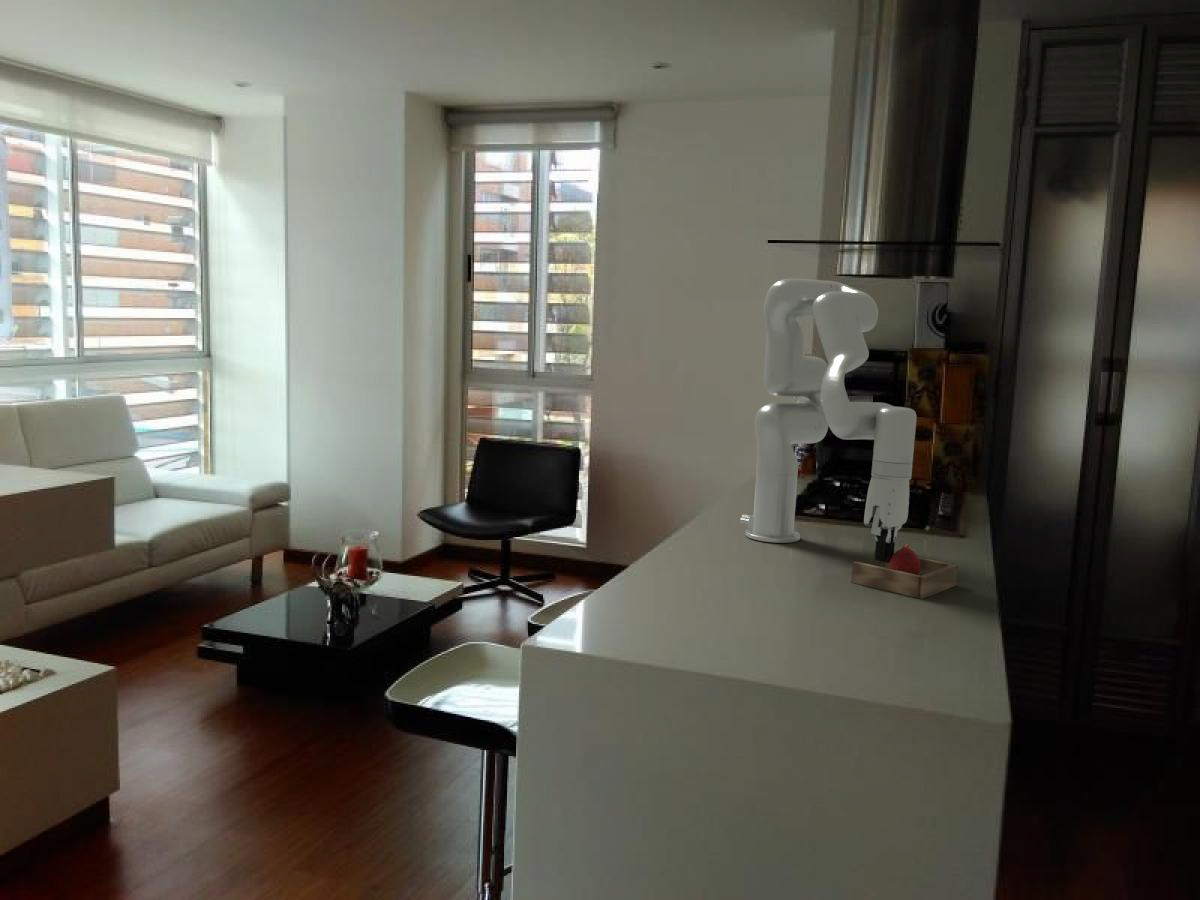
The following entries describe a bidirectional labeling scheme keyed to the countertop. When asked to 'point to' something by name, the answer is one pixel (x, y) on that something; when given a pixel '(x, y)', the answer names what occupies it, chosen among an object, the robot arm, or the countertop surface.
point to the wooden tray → (907, 578)
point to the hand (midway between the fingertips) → (883, 560)
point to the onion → (905, 561)
